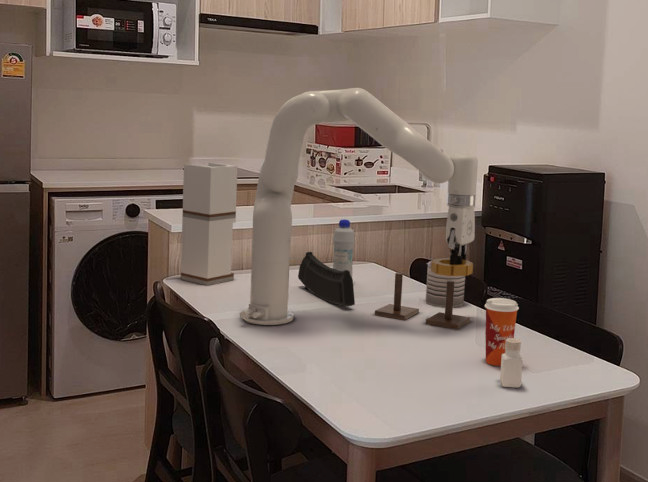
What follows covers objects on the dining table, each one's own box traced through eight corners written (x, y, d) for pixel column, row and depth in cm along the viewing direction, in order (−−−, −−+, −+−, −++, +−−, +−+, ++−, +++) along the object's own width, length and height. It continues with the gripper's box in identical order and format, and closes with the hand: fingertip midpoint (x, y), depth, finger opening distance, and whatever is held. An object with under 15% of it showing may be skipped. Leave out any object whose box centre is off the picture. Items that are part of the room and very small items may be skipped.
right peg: (457, 329, 211) (460, 286, 210) (425, 323, 214) (428, 281, 213) (470, 321, 219) (472, 280, 218) (438, 316, 223) (441, 275, 222)
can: (470, 306, 235) (473, 265, 234) (433, 308, 231) (436, 266, 230) (454, 297, 246) (456, 257, 245) (419, 298, 241) (421, 258, 240)
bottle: (327, 283, 253) (330, 219, 251) (336, 279, 260) (339, 217, 258) (347, 286, 251) (350, 221, 250) (355, 282, 258) (359, 219, 256)
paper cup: (487, 368, 181) (491, 306, 180) (476, 357, 189) (480, 297, 187) (520, 367, 184) (524, 305, 182) (508, 356, 191) (512, 297, 190)
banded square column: (233, 279, 252) (237, 166, 248) (207, 285, 243) (211, 167, 239) (207, 273, 258) (210, 162, 254) (180, 279, 249) (183, 164, 245)
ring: (463, 278, 209) (463, 267, 209) (425, 272, 213) (426, 262, 213) (477, 271, 218) (477, 261, 218) (441, 266, 222) (441, 256, 222)
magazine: (360, 279, 222) (315, 230, 245) (350, 280, 220) (305, 230, 243) (349, 333, 227) (306, 280, 250) (338, 335, 225) (296, 281, 248)
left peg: (404, 320, 217) (407, 278, 216) (374, 315, 220) (376, 273, 219) (418, 313, 225) (421, 272, 224) (389, 308, 229) (391, 268, 228)
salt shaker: (518, 381, 174) (521, 338, 173) (521, 388, 170) (524, 343, 169) (499, 381, 173) (502, 337, 173) (501, 387, 169) (504, 342, 169)
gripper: (463, 205, 209) (459, 276, 211) (484, 199, 223) (480, 266, 225) (436, 202, 212) (432, 272, 214) (459, 196, 226) (455, 262, 228)
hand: (457, 268), depth 219 cm, fingers closed on ring, 2 cm apart
